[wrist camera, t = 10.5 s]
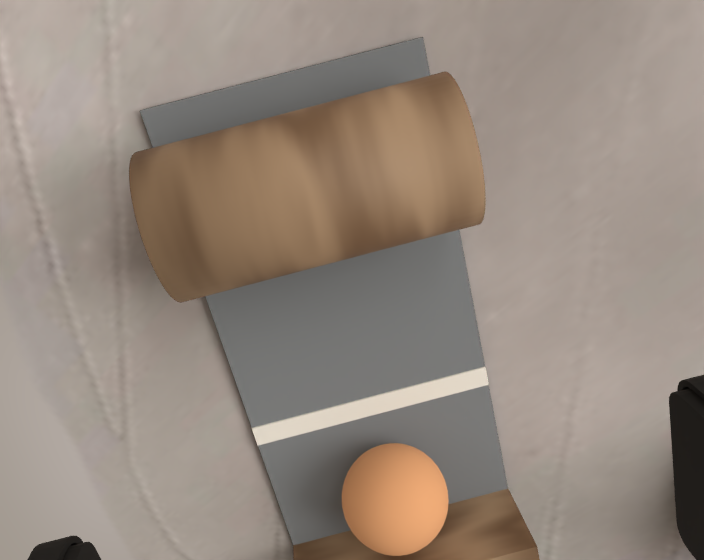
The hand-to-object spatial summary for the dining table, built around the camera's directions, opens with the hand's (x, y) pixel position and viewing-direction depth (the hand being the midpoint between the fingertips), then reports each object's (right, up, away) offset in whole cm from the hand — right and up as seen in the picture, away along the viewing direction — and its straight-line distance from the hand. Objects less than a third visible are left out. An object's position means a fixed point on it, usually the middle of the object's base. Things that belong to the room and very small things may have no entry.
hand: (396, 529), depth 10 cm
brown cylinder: (-3, +9, +23) cm, 25 cm away
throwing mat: (-1, +1, +26) cm, 26 cm away
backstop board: (+3, -12, +31) cm, 33 cm away
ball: (+2, -8, +26) cm, 27 cm away
